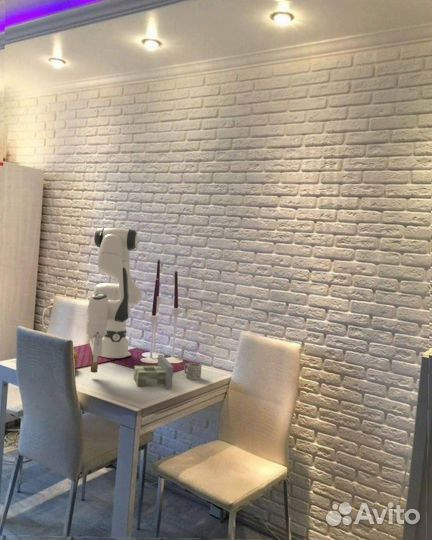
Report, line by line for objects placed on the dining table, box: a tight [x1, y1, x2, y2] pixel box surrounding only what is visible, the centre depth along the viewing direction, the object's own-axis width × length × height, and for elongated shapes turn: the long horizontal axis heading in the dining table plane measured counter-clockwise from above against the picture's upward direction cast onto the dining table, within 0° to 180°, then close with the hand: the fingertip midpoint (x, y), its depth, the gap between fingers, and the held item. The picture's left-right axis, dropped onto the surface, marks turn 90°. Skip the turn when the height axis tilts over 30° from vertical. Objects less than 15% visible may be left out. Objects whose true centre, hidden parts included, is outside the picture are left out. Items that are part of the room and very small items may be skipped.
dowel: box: [90, 352, 99, 374], centre depth 218 cm, size 3×3×10 cm
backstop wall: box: [157, 354, 174, 391], centre depth 221 cm, size 22×2×10 cm, turn 19°
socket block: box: [133, 365, 166, 388], centre depth 219 cm, size 12×12×6 cm
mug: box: [183, 362, 202, 381], centre depth 232 cm, size 10×7×7 cm
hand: (94, 360), depth 218 cm, fingers closed on dowel, 3 cm apart
